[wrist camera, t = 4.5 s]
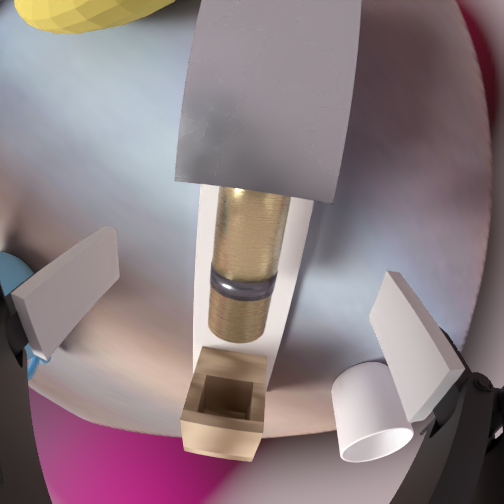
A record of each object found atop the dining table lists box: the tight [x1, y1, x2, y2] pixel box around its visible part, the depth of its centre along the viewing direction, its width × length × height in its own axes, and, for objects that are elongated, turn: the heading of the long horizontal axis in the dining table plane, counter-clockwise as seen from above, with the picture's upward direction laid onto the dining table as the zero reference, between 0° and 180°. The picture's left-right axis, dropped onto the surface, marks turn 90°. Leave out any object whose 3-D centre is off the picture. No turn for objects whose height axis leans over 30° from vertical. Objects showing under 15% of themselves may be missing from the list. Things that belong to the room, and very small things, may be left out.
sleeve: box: [175, 0, 361, 204], centre depth 14 cm, size 7×13×10 cm, turn 172°
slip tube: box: [208, 186, 291, 343], centre depth 15 cm, size 20×4×4 cm, turn 172°
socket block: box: [180, 346, 267, 461], centre depth 26 cm, size 7×7×10 cm
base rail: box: [193, 184, 314, 393], centre depth 24 cm, size 9×40×1 cm, turn 172°
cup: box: [332, 362, 414, 462], centre depth 26 cm, size 8×12×10 cm
